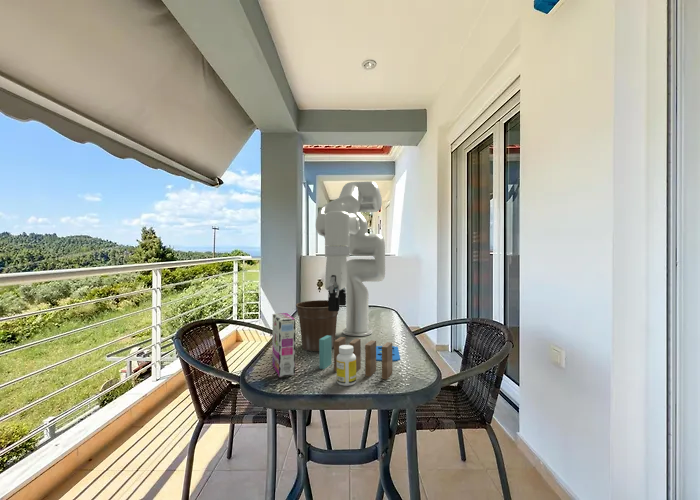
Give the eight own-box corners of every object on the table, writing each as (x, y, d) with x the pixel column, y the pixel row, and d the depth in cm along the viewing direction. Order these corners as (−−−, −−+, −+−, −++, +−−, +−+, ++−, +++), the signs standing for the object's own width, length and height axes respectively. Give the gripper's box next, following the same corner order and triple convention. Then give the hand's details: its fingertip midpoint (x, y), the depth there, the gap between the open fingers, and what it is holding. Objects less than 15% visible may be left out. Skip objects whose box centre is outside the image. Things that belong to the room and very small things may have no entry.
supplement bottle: (355, 378, 96) (355, 343, 95) (356, 386, 90) (356, 349, 90) (336, 378, 95) (336, 343, 95) (336, 386, 90) (336, 349, 90)
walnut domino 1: (334, 370, 101) (333, 341, 101) (341, 365, 106) (341, 336, 106) (338, 371, 101) (338, 341, 100) (345, 366, 105) (345, 337, 105)
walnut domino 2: (349, 373, 99) (349, 342, 99) (355, 367, 104) (355, 338, 104) (354, 374, 99) (354, 343, 98) (360, 368, 103) (360, 339, 103)
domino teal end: (319, 368, 103) (319, 339, 103) (327, 363, 108) (326, 335, 108) (324, 369, 103) (323, 339, 102) (331, 364, 107) (331, 335, 107)
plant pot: (287, 351, 121) (287, 305, 120) (307, 339, 136) (307, 299, 136) (330, 355, 115) (330, 308, 115) (346, 342, 131) (345, 301, 130)
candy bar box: (296, 375, 98) (296, 319, 97) (279, 378, 96) (278, 320, 96) (287, 363, 108) (287, 312, 108) (271, 365, 106) (271, 313, 106)
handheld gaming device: (375, 358, 110) (375, 345, 125) (375, 361, 110) (375, 348, 125) (400, 359, 109) (397, 345, 124) (400, 362, 109) (397, 348, 124)
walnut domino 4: (381, 378, 95) (381, 346, 95) (387, 372, 100) (387, 342, 100) (387, 379, 95) (387, 347, 95) (392, 373, 99) (392, 342, 99)
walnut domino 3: (365, 375, 97) (365, 344, 97) (371, 370, 102) (371, 340, 102) (370, 376, 97) (370, 345, 97) (376, 370, 101) (376, 340, 101)
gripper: (332, 251, 112) (332, 303, 112) (317, 252, 95) (317, 313, 95) (354, 251, 111) (354, 303, 111) (343, 252, 94) (343, 314, 94)
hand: (337, 308), depth 103 cm, fingers open, 9 cm apart
